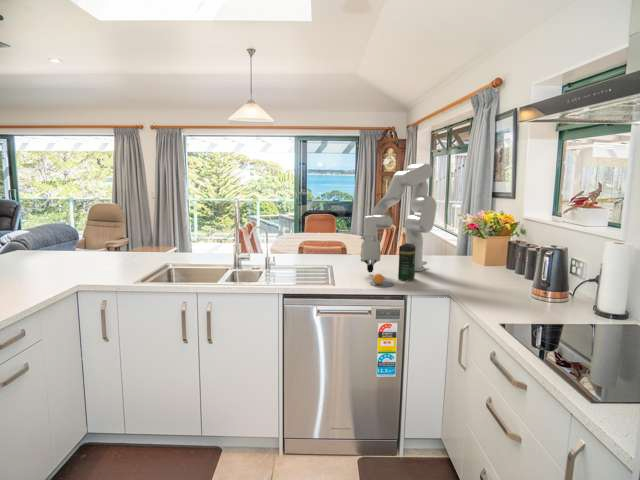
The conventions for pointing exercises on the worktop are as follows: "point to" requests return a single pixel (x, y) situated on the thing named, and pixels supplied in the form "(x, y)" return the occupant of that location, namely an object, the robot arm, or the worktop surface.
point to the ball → (378, 279)
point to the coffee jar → (406, 262)
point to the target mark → (383, 284)
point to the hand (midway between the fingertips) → (370, 271)
